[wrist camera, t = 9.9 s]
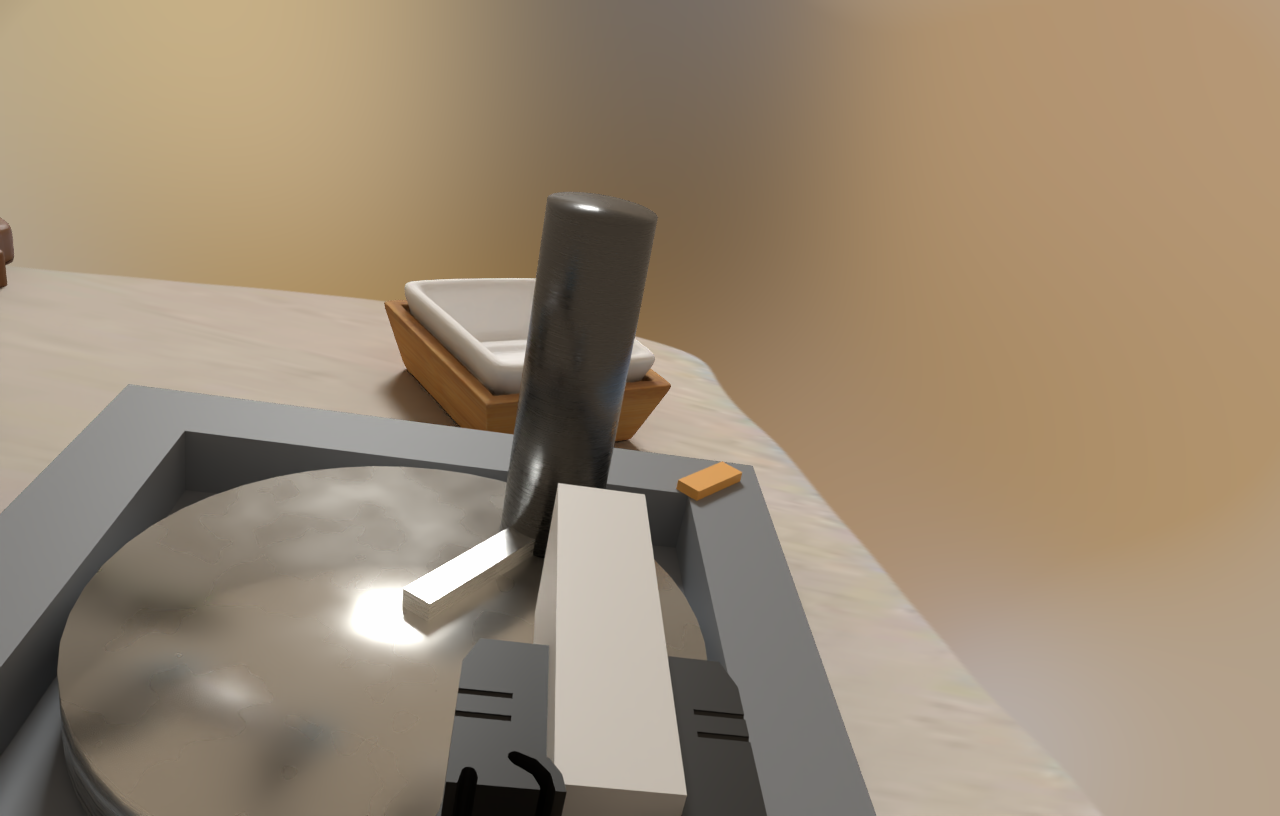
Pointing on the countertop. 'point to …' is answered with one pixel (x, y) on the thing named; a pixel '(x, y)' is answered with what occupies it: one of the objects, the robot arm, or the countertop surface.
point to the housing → (322, 439)
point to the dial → (352, 588)
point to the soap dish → (491, 351)
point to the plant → (5, 250)
